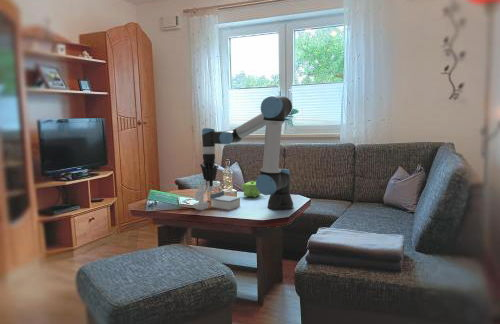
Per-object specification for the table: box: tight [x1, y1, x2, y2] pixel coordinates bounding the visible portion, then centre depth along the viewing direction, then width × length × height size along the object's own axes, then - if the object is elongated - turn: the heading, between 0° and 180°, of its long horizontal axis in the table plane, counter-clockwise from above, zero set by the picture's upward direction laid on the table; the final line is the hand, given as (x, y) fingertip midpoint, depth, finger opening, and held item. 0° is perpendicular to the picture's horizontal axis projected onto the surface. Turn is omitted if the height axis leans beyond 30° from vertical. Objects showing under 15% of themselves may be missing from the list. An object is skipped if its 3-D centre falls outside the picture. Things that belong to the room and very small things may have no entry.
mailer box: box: [210, 198, 241, 210], centre depth 219 cm, size 14×10×5 cm
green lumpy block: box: [241, 180, 261, 198], centre depth 249 cm, size 15×13×11 cm
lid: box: [209, 190, 242, 202], centre depth 219 cm, size 14×11×3 cm
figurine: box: [192, 184, 211, 211], centre depth 215 cm, size 7×9×15 cm
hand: (209, 191), depth 225 cm, fingers closed
